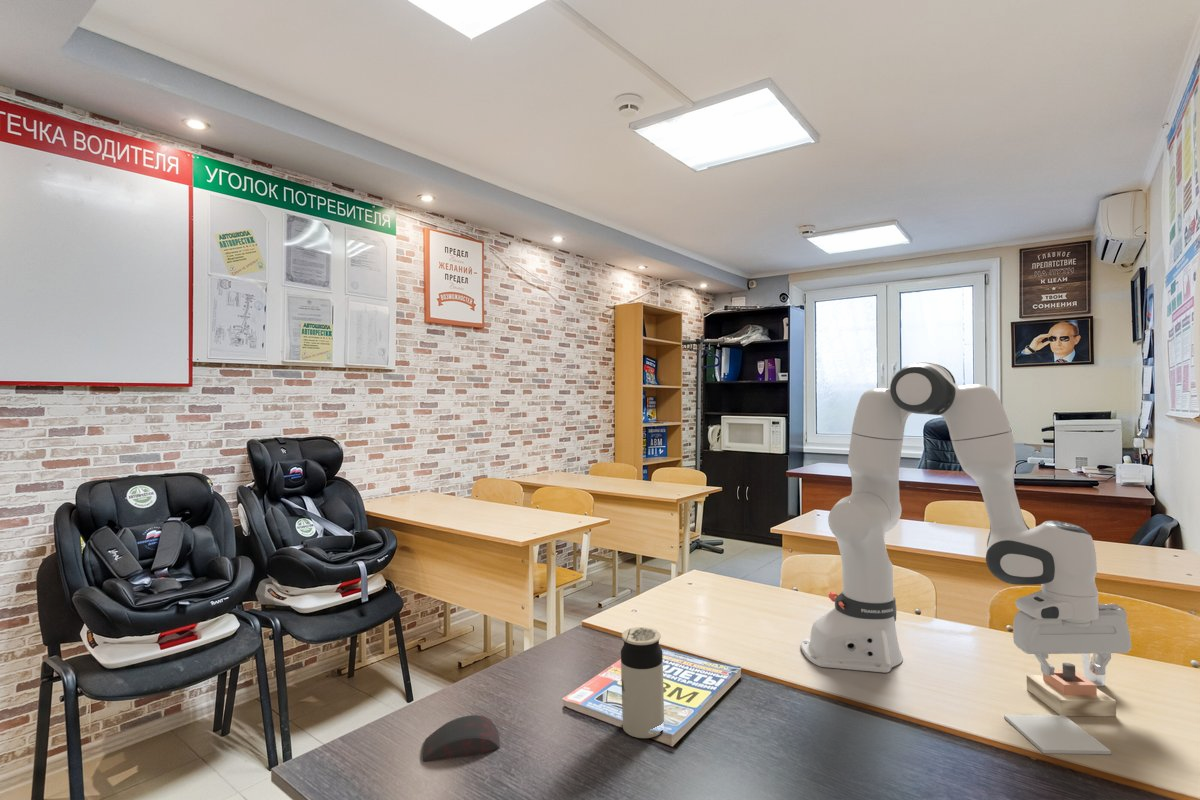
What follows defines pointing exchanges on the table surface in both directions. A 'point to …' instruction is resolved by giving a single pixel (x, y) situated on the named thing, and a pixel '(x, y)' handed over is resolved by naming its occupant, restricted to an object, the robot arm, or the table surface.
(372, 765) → the table surface
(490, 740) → the computer mouse
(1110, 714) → the peg stand
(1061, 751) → the mat
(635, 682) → the travel mug
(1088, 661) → the milkshake
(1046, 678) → the pink rectangular frame
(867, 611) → the robot arm
